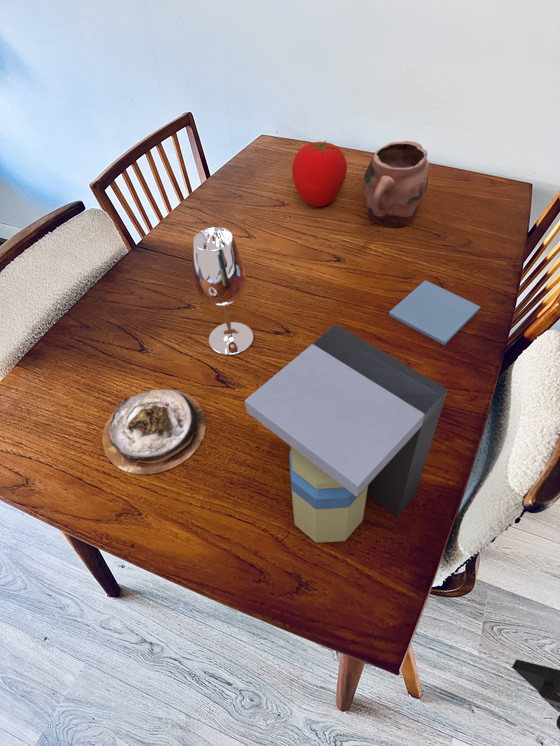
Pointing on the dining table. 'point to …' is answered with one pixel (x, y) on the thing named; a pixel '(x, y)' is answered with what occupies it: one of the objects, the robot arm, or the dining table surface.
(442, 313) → the plate
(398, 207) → the pink ceramic mug
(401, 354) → the dining table surface
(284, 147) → the dining table surface
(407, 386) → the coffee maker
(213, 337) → the wineglass
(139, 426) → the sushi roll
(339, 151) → the tomato
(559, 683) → the robot arm
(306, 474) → the jar
